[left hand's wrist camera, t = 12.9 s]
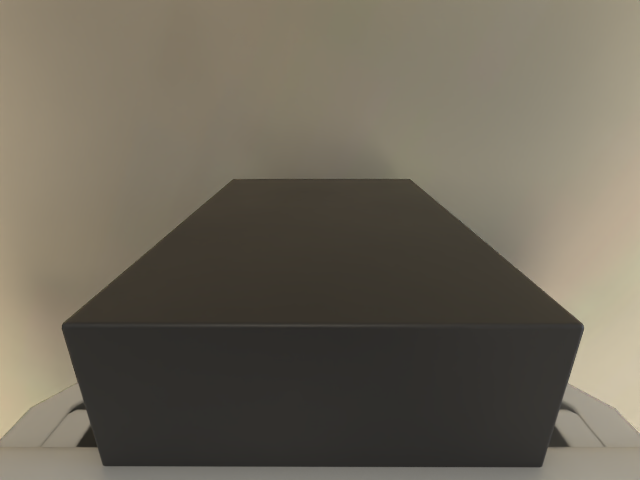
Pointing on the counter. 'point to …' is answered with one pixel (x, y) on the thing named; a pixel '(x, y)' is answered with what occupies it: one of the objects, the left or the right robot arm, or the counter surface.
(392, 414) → the box
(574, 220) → the counter surface
